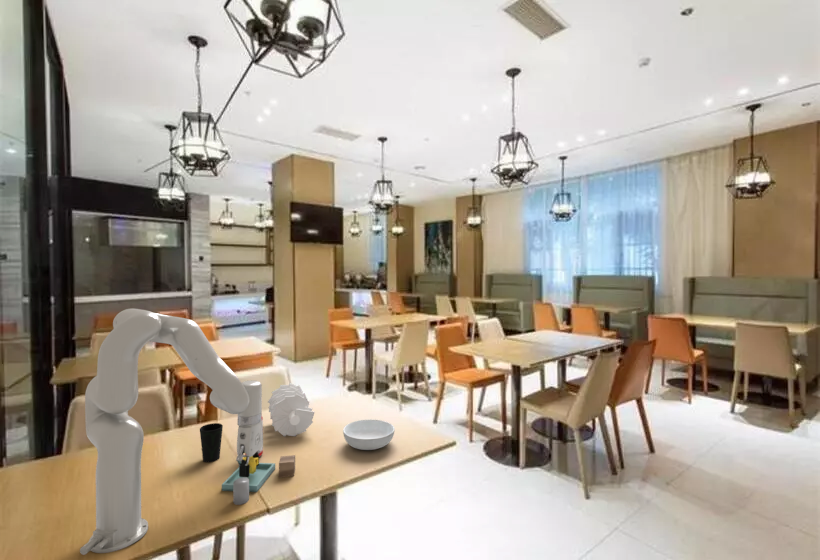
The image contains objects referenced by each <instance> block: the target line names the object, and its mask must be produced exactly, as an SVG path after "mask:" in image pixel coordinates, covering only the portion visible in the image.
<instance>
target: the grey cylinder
mask: <svg viewBox="0 0 820 560" xmlns="http://www.w3.org/2000/svg"><path fill="white" fill-rule="evenodd" d="M232 492H233V494H232V495H233V496H232V497H233V502H232V503H233V504H234V505H235V506H236V505H237V506H239V505H244V504H246V503H248V502H249V500H250V492H249V479H248V478H245V477H243V478H239V479H236V480H235V481H234V482H233V491H232Z"/></svg>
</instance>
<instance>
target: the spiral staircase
mask: <svg viewBox="0 0 820 560" xmlns="http://www.w3.org/2000/svg"><path fill="white" fill-rule="evenodd" d="M271 394H272V395H271V396H270V398H269V399H268V400H267V403H268V404H269V406H268V413H270V420H272V423H271V426H272V427H273V428H274V429H273V430H274V432H278V433H279V434H281V435H282V436H283V437H286V436H290V437H297V435H300V434H303V433H305V432H307V429H308V428H309V427H310V426H312V424H313V423H314V421H313V420H314V415H315V413H316V412H315V411H314V410H313V407H309V405H310V401H309V400H308V398H307V395H306V393H305V392H304V391H303V390H302V388H301V386H300V385H299V384H298V385H296V384H294V383H292V382H289V384H280V385H279V388H276V389H274V390H273V391H272V392H271Z"/></svg>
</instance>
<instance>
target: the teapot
mask: <svg viewBox="0 0 820 560" xmlns="http://www.w3.org/2000/svg"><path fill="white" fill-rule="evenodd" d="M243 460H245V461H246V457H243ZM255 460H256V462H255ZM259 463H260V457H259V458H258V457H257V458H253V456H252V457H249V463H248V464H249V474H254V472H256V466H257V465H258V464H259Z"/></svg>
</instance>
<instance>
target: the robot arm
mask: <svg viewBox="0 0 820 560" xmlns="http://www.w3.org/2000/svg"><path fill="white" fill-rule="evenodd" d="M112 327H113V329H112V330H111V331H110V332H109V333H108V334H107V336H106V337H105V338H104V339H103V341H102V343H101V345H100V347H99V350H98V355H97V367H96V368H97V369H96V375H95V376H94V377H93V378H92V379H91V380H90V382H88V384H87V386H86V388H85V393H84V394H85V395H84V413H85V414H84V415H85V417H84V418H85V419H84V420H85V421H84V422H85V433H86V436H87V439H88V440H89V442H90V443H91V444H92V445H93V446H94V447H95V448H96V450H97V461H96V466H95V467H96V468H95V523H96V524H95V530H93V531H92V535H91V536H90V538H89V539H88V542H86V543H85V544H84V545H82V546H81V547H80V549H79V552H80V554H81V555H83V556H85V555H87V554H88V553H89V552H92V553H96V554H106V553H113V552H116V551H119V550H123V549H125V548H127V547H129V546H131V545H133V544H135V543H136V542H138V541H139V540H141V539H142V538H143V537H144V536H145V535H146V533H147V532H148V530H149V522H148V521H147V520H146V519H144V518H142V453H143V452H142V451H143V445H144V434H145V433H144V431H143V428H142V426H141V423H140V422H139V421H137V420H136V419H134V418H133V417H132V416H131V415H129V412H128V411H130V410H132V409H133V407H134V406H135V405H136V403H137V401H138V398H139V374H138V373H139V371H138V369H139V368H138V365H139V357H140V356H139V355H140V352H141V351H142V349H143V348H144V346H145V345H146V344H147V343H148V342H152V343H160V344H166V345H167V344H168V345H171V346H172V347H173V348H174V350H175V352H176V353H177V355H178V356H179V357H180V359H181V360H182V361H183V363H184V364H185V365H186V367H187V369H188V370H189V372H190V373H191V374H192V376H195V378H197V379H198V380H199V381H201V382H203V383H204V384H205V385H207V386H208V387H209V388H210V389H211V390H212V391H211V392H210V395H209V400H210V404H211V405H212V406H214V407H215V408H217V409H219V410H221V411H224V412H226V413H228V414H231V415H237V426H238V429H237V436H236V437H237V438H236V454H237V456H236V460H235V461H236V462H237V464H238V467H239V477H249V464H248V463H249V457H252V456H253V458H257V457H258V458H259V459H260V457H259V453H260V450H259V449H260V448H261V447H262V445H263V446H264V428H263V429H262V417H263V415H262V414H263V413H262V409H263V407H262V406H263V405H262V403H263V401H262V398H263V396H262V395H263V394H262V393H263V392H262V391H263V388H262V386H263V384H262V383H261V381H259V380H251V379H250V380H244V381H241V380H240V378H239V377H238V376H237V375H236V374H235V371H233V370H232V369H231V368H230V367H229V366H228V365H227V364H226V362H225V361H224V360H223V359H221V357H220V356H219V355H218V353H217V351H216V350H215V349H214V347H213V345H212V344H211V343H210V341H209V340H208V338H207V337H206V335H205V333H204V332H203V330H202V329H201V327H200V326H199V324H198V323H197V322H195V321H194V320H192V319H189V318H186V317H185V318H184V317H179V316H174V315H173V316H172V315H167V314H162V313H156V312H152V311H150V310H147V309H140V308H126V309H124V310H122V311H120V312H119V313H117V314H116V316H114V318H113V322H112ZM245 453H246V455H245ZM244 457H246V461H245V460H243V458H244ZM255 462H256V460H255ZM257 466H259V464H258V465H257Z"/></svg>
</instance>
